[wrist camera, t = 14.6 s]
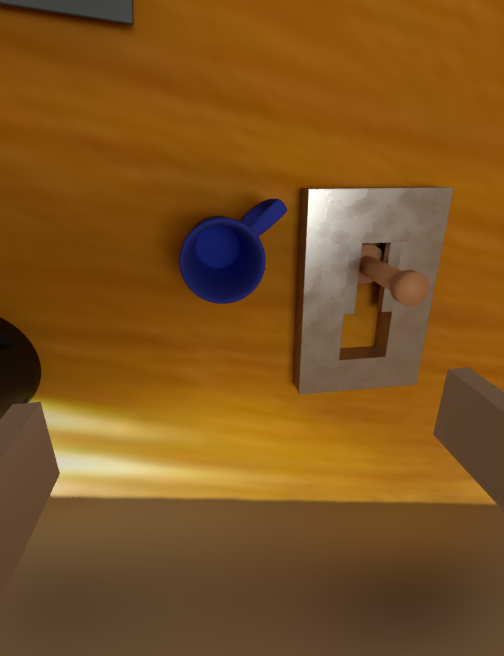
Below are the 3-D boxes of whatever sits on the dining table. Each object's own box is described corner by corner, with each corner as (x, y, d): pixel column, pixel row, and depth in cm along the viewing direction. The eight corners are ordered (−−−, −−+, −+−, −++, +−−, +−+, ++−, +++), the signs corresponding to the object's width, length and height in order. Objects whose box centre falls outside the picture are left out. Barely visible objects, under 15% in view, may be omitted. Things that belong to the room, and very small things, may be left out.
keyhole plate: (403, 372, 55) (416, 384, 52) (292, 381, 53) (299, 394, 50) (435, 186, 45) (453, 187, 42) (300, 188, 43) (308, 189, 40)
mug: (289, 225, 44) (313, 238, 35) (216, 291, 46) (221, 320, 37) (244, 169, 41) (258, 167, 32) (168, 243, 43) (160, 261, 34)
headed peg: (341, 282, 48) (386, 315, 37) (344, 243, 46) (393, 265, 35) (377, 280, 49) (432, 312, 37) (382, 242, 47) (441, 263, 35)
